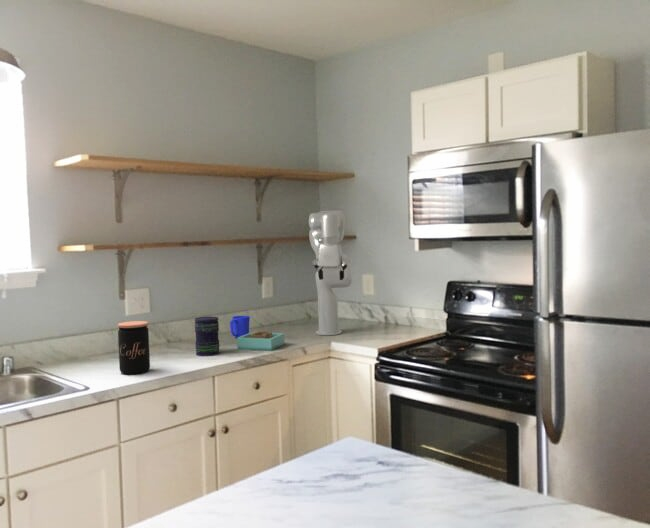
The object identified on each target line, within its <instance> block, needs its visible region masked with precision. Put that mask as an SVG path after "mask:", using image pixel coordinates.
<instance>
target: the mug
mask: <svg viewBox="0 0 650 528" xmlns="http://www.w3.org/2000/svg"><path fill="white" fill-rule="evenodd" d="M250 320H251V319H250V315H236V316H232V317H231V320H230V321H229V325H230V334H231V335H232V337H234V338H236V339H237V338H238V337H241V336H243V335H246V334H249V333H250Z"/></svg>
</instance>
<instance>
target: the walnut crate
mask: <svg viewBox="0 0 650 528" xmlns="http://www.w3.org/2000/svg"><path fill="white" fill-rule="evenodd" d="M272 333H273V331H257V332H254V334H251V335H250V338H266V339H270V338H272Z"/></svg>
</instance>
